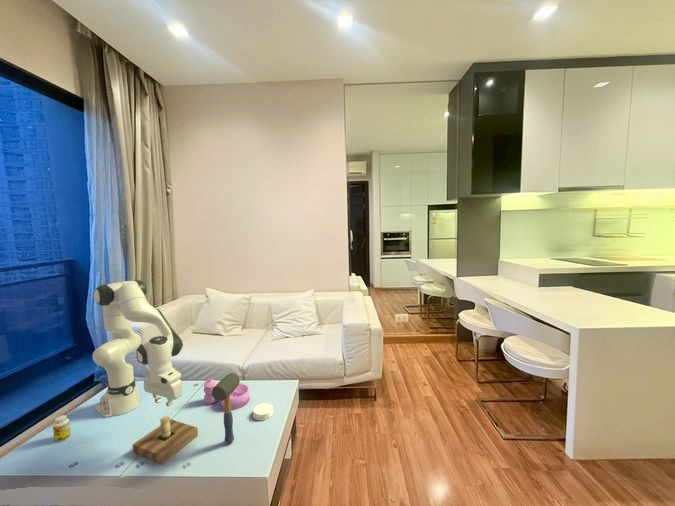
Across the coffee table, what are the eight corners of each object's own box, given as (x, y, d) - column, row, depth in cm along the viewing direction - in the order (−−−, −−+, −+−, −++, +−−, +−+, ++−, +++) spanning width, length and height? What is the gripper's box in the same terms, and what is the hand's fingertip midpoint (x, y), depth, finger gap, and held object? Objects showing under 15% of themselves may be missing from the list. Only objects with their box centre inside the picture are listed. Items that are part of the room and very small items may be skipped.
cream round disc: (249, 418, 149) (248, 412, 148) (260, 407, 158) (260, 401, 158) (265, 422, 145) (265, 416, 145) (276, 411, 154) (276, 404, 154)
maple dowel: (160, 445, 131) (158, 420, 130) (167, 440, 134) (165, 415, 133) (166, 447, 130) (164, 422, 129) (173, 442, 133) (171, 417, 132)
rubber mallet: (229, 453, 125) (225, 386, 123) (213, 451, 127) (209, 385, 124) (244, 433, 137) (240, 372, 135) (229, 432, 139) (225, 371, 136)
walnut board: (133, 452, 127) (132, 444, 127) (170, 426, 144) (170, 419, 143) (161, 464, 120) (161, 455, 120) (197, 435, 137) (197, 427, 136)
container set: (253, 394, 170) (252, 372, 169) (243, 410, 155) (242, 386, 154) (211, 393, 172) (210, 372, 171) (197, 409, 157) (196, 386, 156)
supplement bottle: (51, 441, 135) (49, 420, 135) (65, 433, 141) (63, 413, 140) (59, 443, 134) (57, 422, 133) (73, 435, 139) (71, 415, 138)
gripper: (138, 373, 130) (140, 403, 131) (170, 381, 122) (173, 413, 123) (152, 367, 136) (154, 395, 137) (183, 374, 128) (186, 404, 129)
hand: (163, 403), depth 130 cm, fingers open, 6 cm apart
